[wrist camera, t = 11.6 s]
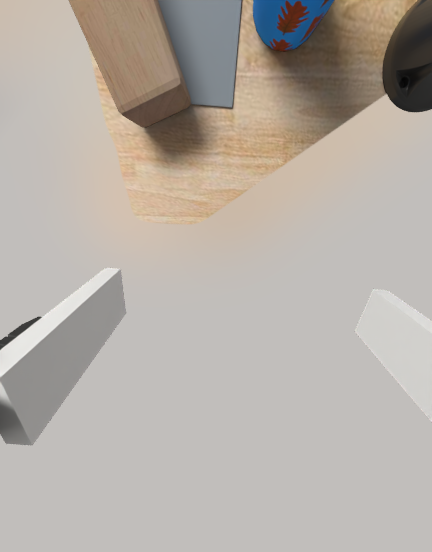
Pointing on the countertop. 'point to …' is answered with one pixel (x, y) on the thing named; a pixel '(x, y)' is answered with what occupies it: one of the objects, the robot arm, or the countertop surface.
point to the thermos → (287, 21)
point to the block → (134, 57)
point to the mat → (205, 46)
